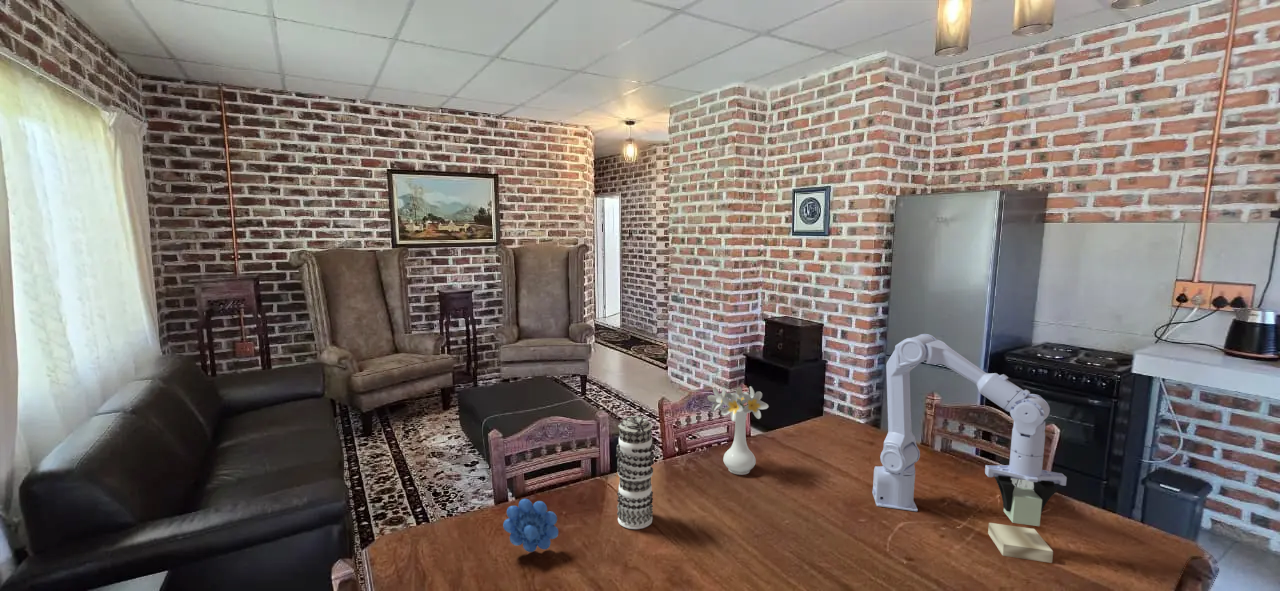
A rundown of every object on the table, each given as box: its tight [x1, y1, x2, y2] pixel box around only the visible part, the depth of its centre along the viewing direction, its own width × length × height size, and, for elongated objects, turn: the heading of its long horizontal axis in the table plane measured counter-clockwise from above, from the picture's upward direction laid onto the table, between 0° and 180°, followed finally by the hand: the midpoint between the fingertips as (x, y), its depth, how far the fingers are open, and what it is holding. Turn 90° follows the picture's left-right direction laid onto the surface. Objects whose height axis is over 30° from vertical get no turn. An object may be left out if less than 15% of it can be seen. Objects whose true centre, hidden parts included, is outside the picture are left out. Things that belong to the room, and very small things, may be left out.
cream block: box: [987, 522, 1054, 564], centre depth 116 cm, size 9×9×3 cm
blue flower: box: [502, 498, 559, 553], centre depth 112 cm, size 12×7×12 cm, turn 101°
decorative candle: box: [615, 415, 656, 530], centre depth 125 cm, size 9×9×25 cm
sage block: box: [1003, 487, 1042, 527], centre depth 115 cm, size 5×5×6 cm
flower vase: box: [707, 386, 770, 476], centre depth 152 cm, size 13×18×25 cm
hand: (1021, 511), depth 115 cm, fingers closed on sage block, 5 cm apart
